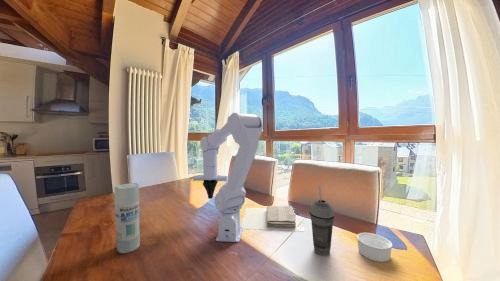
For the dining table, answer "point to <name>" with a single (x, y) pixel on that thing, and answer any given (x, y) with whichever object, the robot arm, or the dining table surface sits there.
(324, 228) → the beverage cup
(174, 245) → the dining table surface
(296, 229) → the placemat
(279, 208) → the washcloth
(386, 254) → the ramekin
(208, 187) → the robot arm
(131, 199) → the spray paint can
